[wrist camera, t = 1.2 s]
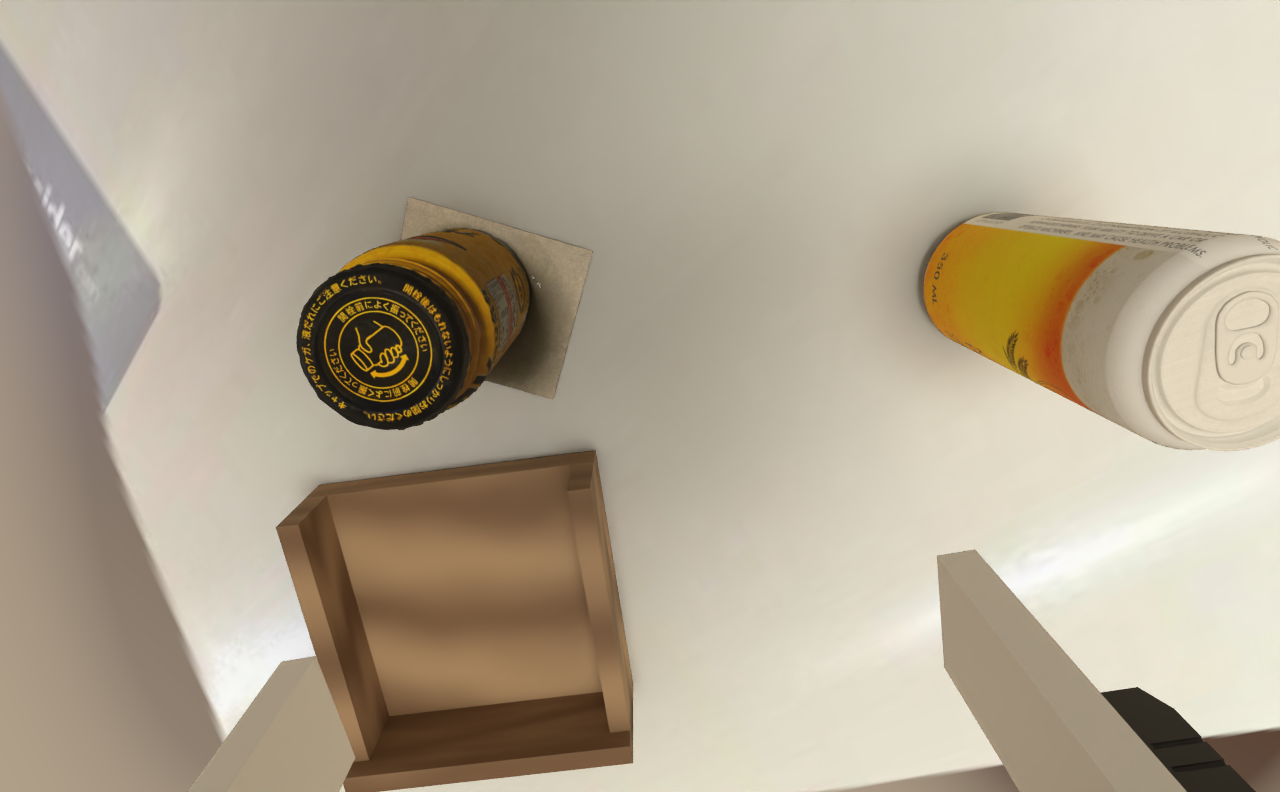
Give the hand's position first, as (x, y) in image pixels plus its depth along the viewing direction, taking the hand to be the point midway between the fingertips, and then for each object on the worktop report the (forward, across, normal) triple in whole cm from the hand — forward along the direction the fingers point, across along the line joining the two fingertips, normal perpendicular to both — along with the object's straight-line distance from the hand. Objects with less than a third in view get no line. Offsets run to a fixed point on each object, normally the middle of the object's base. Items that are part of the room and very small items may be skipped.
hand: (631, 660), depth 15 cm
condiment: (+21, -6, +5) cm, 22 cm away
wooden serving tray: (+20, -10, -10) cm, 24 cm away
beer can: (+21, +17, +2) cm, 27 cm away
